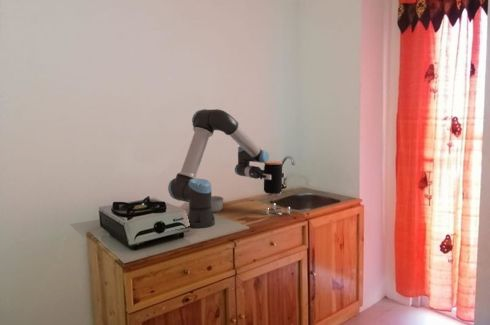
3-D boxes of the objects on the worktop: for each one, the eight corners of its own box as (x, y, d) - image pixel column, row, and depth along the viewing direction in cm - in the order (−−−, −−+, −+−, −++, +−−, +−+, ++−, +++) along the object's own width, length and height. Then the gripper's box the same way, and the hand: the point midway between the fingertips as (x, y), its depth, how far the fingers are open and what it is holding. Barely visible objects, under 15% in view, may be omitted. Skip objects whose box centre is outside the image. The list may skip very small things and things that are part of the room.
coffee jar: (266, 190, 231) (266, 160, 229) (283, 191, 228) (283, 161, 226) (261, 193, 221) (262, 162, 219) (279, 194, 218) (280, 163, 216)
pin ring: (274, 217, 213) (274, 210, 213) (258, 212, 224) (258, 205, 224) (290, 213, 221) (290, 207, 220) (274, 209, 232) (274, 202, 232)
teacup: (224, 209, 233) (224, 196, 232) (221, 213, 222) (221, 200, 221) (202, 208, 234) (202, 195, 233) (198, 212, 223) (198, 199, 222)
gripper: (267, 176, 245) (291, 180, 228) (238, 179, 230) (262, 184, 213) (267, 164, 244) (291, 168, 227) (238, 167, 229) (263, 171, 212)
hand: (277, 176), depth 220 cm, fingers closed on coffee jar, 11 cm apart
